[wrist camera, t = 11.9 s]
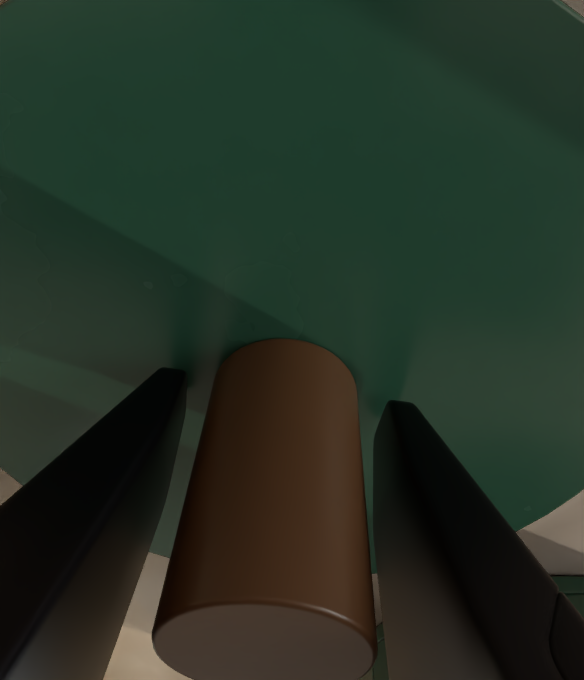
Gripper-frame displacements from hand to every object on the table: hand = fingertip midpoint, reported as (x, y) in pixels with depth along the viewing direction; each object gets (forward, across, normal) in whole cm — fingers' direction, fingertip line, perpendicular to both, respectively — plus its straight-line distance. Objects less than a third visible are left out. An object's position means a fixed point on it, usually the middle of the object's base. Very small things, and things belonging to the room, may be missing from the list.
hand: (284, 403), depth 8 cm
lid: (+1, 0, 0) cm, 1 cm away
